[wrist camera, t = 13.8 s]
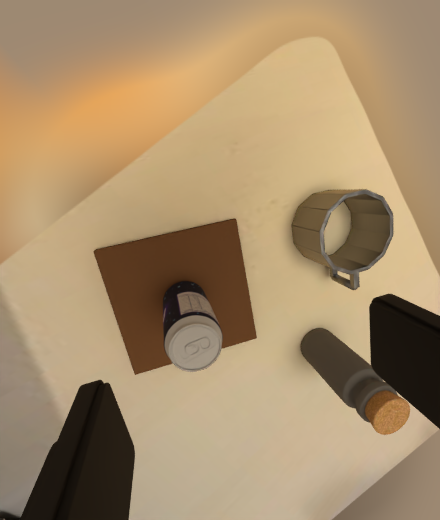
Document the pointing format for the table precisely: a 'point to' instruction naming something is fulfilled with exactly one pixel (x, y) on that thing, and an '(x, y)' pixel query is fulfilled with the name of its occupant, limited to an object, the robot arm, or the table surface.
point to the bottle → (355, 381)
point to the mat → (167, 274)
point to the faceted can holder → (359, 240)
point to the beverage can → (190, 327)
